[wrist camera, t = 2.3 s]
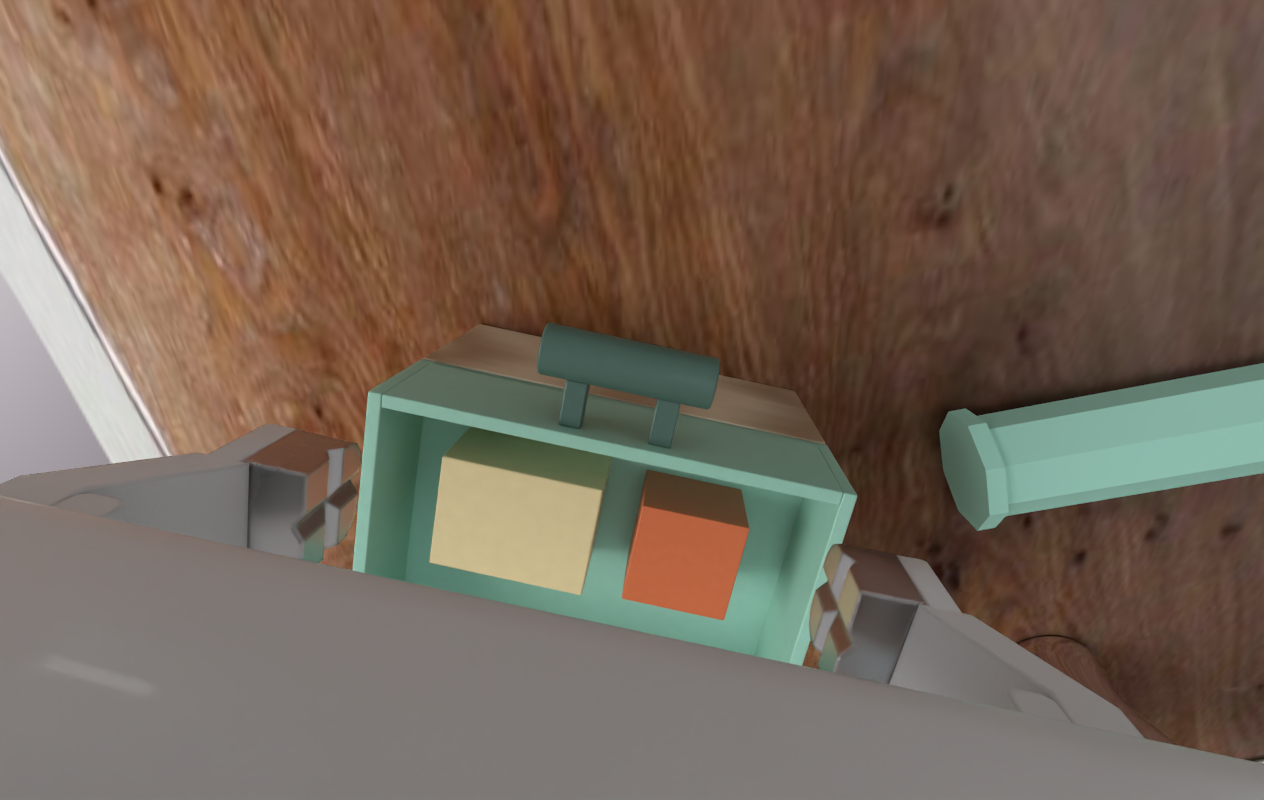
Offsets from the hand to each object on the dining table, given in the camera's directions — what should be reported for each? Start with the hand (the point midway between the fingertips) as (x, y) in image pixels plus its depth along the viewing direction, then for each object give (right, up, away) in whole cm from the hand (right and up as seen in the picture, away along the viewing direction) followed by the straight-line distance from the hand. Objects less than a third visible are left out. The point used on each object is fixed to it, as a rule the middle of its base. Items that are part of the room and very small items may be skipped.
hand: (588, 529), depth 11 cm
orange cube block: (+3, -3, +17) cm, 17 cm away
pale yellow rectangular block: (-3, -2, +17) cm, 17 cm away
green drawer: (0, -1, +17) cm, 17 cm away
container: (+29, +2, +23) cm, 37 cm away
